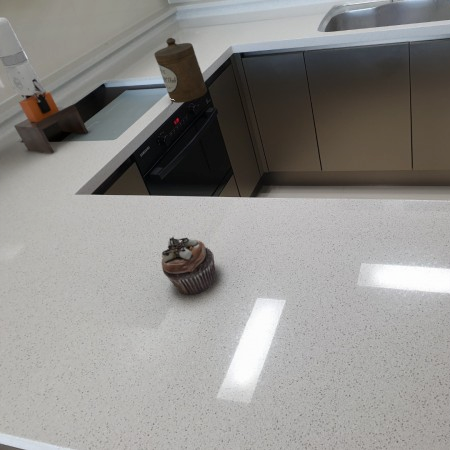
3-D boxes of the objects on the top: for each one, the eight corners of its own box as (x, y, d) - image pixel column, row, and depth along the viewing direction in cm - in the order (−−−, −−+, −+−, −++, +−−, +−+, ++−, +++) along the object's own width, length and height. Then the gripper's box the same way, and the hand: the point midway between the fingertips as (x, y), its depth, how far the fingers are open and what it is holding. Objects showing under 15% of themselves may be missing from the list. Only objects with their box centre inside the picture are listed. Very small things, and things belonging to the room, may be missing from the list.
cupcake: (219, 292, 85) (203, 251, 80) (168, 302, 86) (148, 262, 80) (221, 259, 93) (207, 220, 87) (175, 269, 93) (157, 230, 88)
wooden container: (167, 96, 186) (146, 41, 173) (201, 85, 190) (184, 30, 177) (175, 106, 174) (154, 47, 162) (211, 94, 178) (194, 35, 166)
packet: (29, 121, 159) (18, 102, 155) (50, 110, 165) (41, 91, 161) (37, 122, 157) (27, 102, 153) (59, 111, 163) (49, 92, 159)
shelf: (28, 150, 165) (11, 121, 158) (64, 130, 176) (50, 102, 169) (51, 153, 158) (35, 123, 152) (88, 132, 169) (74, 103, 162)
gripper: (-11, 63, 151) (18, 115, 162) (19, 63, 143) (47, 117, 154) (10, 55, 156) (36, 106, 167) (39, 55, 148) (66, 108, 159)
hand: (41, 111), depth 160 cm, fingers closed on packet, 5 cm apart
